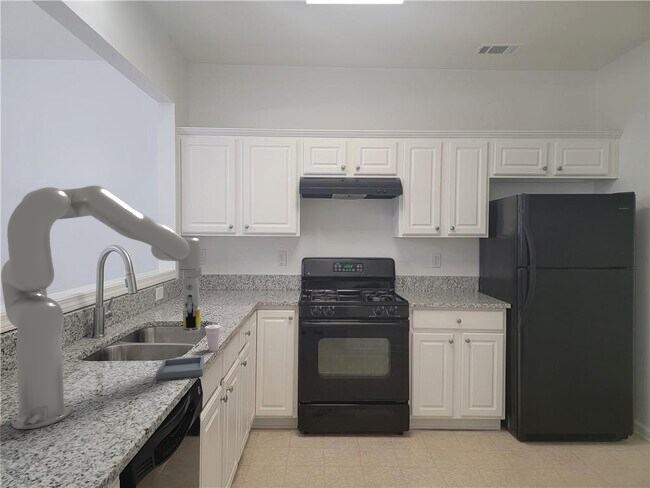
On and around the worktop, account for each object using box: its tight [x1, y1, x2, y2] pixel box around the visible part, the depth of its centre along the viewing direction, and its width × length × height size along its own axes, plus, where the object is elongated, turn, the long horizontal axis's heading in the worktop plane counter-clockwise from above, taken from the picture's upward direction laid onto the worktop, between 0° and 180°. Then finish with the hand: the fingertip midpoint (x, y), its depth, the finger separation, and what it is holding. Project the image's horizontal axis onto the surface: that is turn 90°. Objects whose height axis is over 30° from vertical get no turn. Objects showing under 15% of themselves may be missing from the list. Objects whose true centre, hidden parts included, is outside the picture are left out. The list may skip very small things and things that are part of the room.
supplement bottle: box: [182, 304, 201, 334], centre depth 133 cm, size 6×6×10 cm
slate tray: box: [156, 355, 205, 382], centre depth 133 cm, size 14×14×2 cm
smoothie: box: [204, 315, 222, 352], centre depth 156 cm, size 6×6×14 cm
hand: (191, 325), depth 133 cm, fingers closed on supplement bottle, 5 cm apart
